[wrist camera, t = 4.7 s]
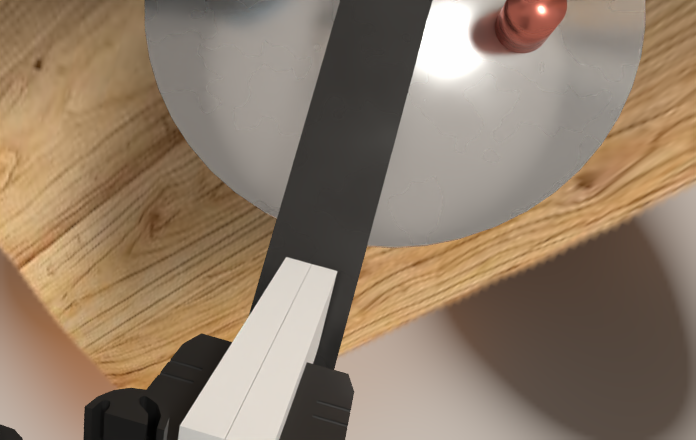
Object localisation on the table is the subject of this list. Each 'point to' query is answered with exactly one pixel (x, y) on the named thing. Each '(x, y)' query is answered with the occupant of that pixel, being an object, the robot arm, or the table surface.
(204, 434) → the robot arm
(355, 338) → the table surface
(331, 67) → the lid
